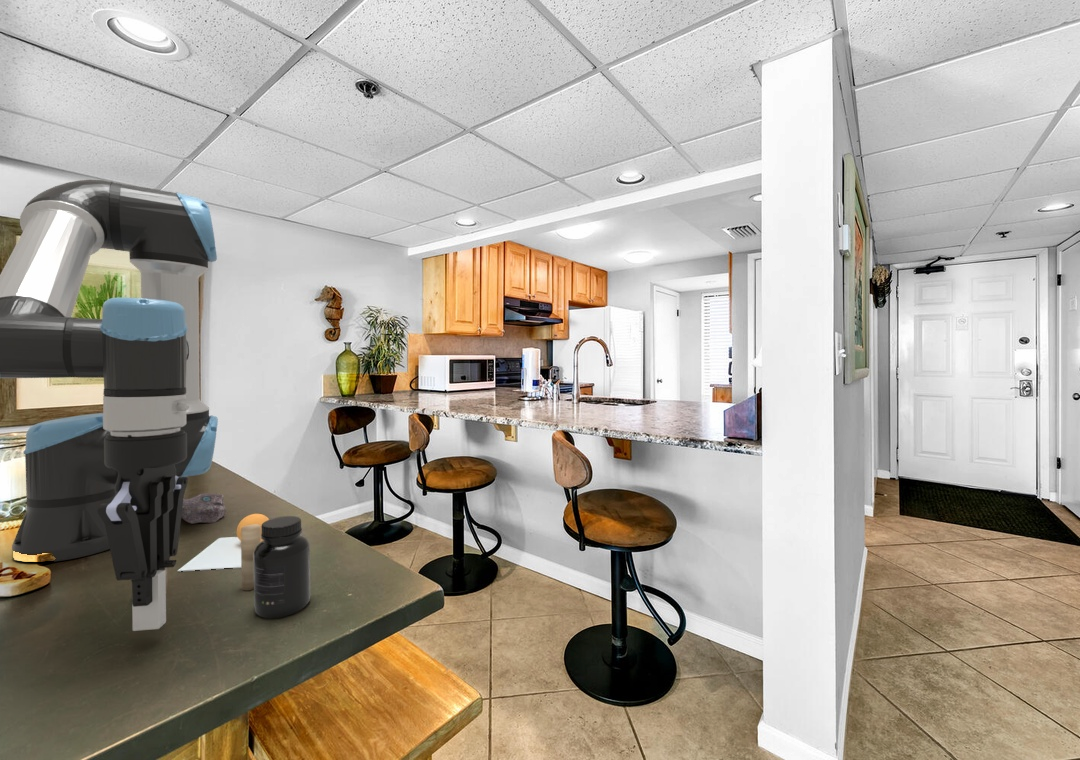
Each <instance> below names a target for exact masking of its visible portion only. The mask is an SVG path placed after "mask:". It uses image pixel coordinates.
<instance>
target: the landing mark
mask: <svg viewBox="0 0 1080 760" xmlns="http://www.w3.org/2000/svg"><path fill="white" fill-rule="evenodd" d="M224 568H233V569H241V541H240V540H239V539H238V537H237V536H230V537H226V536H225V537H218V538H217V539H216V540H214V542H212V543H211V544H209V545H208V546H207V547H206V548H204V549H203V550H202V551H200V553H198V554H197V555H195V557H193V558H191V559H190V560H189V561H187V563H185V564H184V565H183V566H182V567H180V568H179V569H178V570H177V572H178V573H181V571H183V572H195V570H200V571H211V569H216V570H225V569H224Z"/></svg>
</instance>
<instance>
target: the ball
mask: <svg viewBox="0 0 1080 760" xmlns="http://www.w3.org/2000/svg"><path fill="white" fill-rule="evenodd" d="M267 520H270V519H269V517H267V516H266V515H265V514H261V513H252V514H248V515H247V516H245V517H243V519H241V520H240V522H239V523H238V525H237V527H236V535H237V536H236V537H238V539H239V540H240V541H241V528H242V527H244V526H247V525H254V524H258V525H261V534H262V524H263V523H264V522H265V521H267ZM262 541H263V540H262V539H261V542H262Z"/></svg>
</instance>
